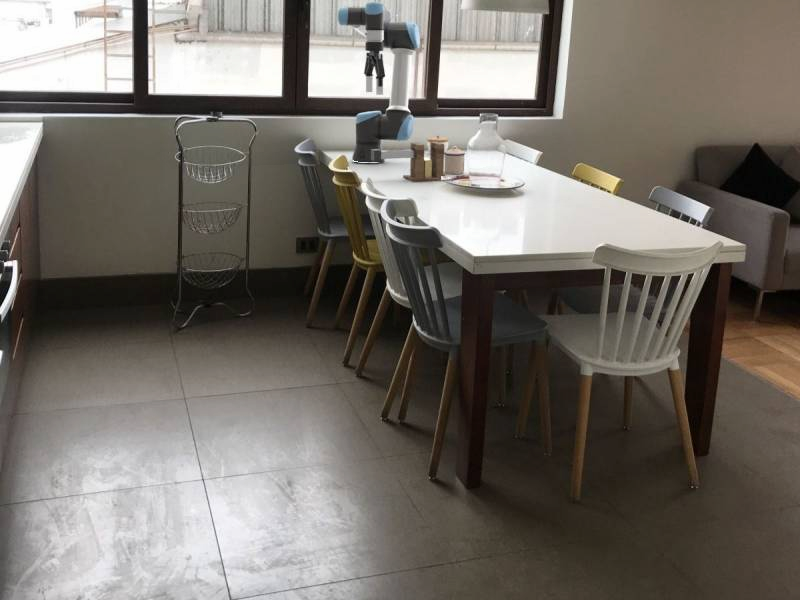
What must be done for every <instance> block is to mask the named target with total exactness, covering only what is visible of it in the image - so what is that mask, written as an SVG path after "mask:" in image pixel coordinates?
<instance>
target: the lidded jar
mask: <svg viewBox="0 0 800 600" xmlns="http://www.w3.org/2000/svg"><path fill="white" fill-rule="evenodd" d="M426 141H427V144H426V145H427V149H428V152H430V143H431V142H440V143H443V144H444V153H445V151H448V150H449V149H448V148H449V142H450V139H449V138H448V137H440V135H439V134H437V135H436V137H435V136H434V137H428V138H427V139H426Z"/></svg>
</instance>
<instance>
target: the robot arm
mask: <svg viewBox="0 0 800 600" xmlns="http://www.w3.org/2000/svg"><path fill="white" fill-rule="evenodd" d="M392 16H393V15H392V12H391V10H390V9H388V8H386V7H384V3H383V2H380V1H378V2H371V1H368V2H366V3H365V6H364V7H362V6H361V7H359V6H355V7H354V6H343V7H339V9H338V12H337V21H338V24H339V25H340V26H344V27H347V26H349V27H351V28H352V29H354V30H355V31H356V32H358V33H359V34H360V35H362V37H363V39H364V40H365V44H364V45H365V46H364V47H365V51H366V57H365V64H364V72H363V74H364V75H365V92H366V93H373V87H374V86H373V83H374V82H373V76H374V74H373V73H374V72H373V71H375V73H376V75H375V82H376V83H375V85H376V86H375V94H376V95H377V96H378V95H379V96H382V95H384V78H385V77H386V74H385V72H386V71H385V66H384V59H383V57H384V56H383V53H380V52H383V51H384V49H390V53H391V54H392V64H391V65H392V66H391V78H390V79H391V81H390V94H389V95H390V96H389V106H388V108H386V109H385V114H383V113H382V111H381V110H373V111H365V112H360V113H358V114H357V115H356V117H355V147H354V150H353V154H352V157H351V158H352V159H351V161H352V160H354V161H358V162H383V161H384V162H385V159H381V161H372V160H371V149H379V150H381V151H383V148H382V145H381V144H382V143H381V142H382V141H398V142H401V141H408V140H409V139H411V136H412V134H413V131H414V125H415V118H414V116H413V114H411V113H412V112H411V111H410V109H409V98H410V96H409V95H410V84H411V83H410V82H411V69H412V56H414V55H415V54H416V50H418V49H420V44H421V36H420V35H421V34H420V30H419V27H418V24H417V23H415V22H409V21H392V18H393V17H392ZM376 95H375V96H376ZM384 162H383V163H384Z"/></svg>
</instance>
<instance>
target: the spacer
mask: <svg viewBox="0 0 800 600" xmlns="http://www.w3.org/2000/svg"><path fill="white" fill-rule="evenodd" d="M431 175H432V160H430V158H428V157H424V178H431Z"/></svg>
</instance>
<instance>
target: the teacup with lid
mask: <svg viewBox="0 0 800 600" xmlns="http://www.w3.org/2000/svg"><path fill="white" fill-rule="evenodd" d="M465 154H466V153H465V151H463V150H461V149H460V148H458V146H456V145H453V146H452V148H450V149H447V151H445V153H444V174H448V175H460V174H459V173H463V174H464V173H465V156H466V155H465Z"/></svg>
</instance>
